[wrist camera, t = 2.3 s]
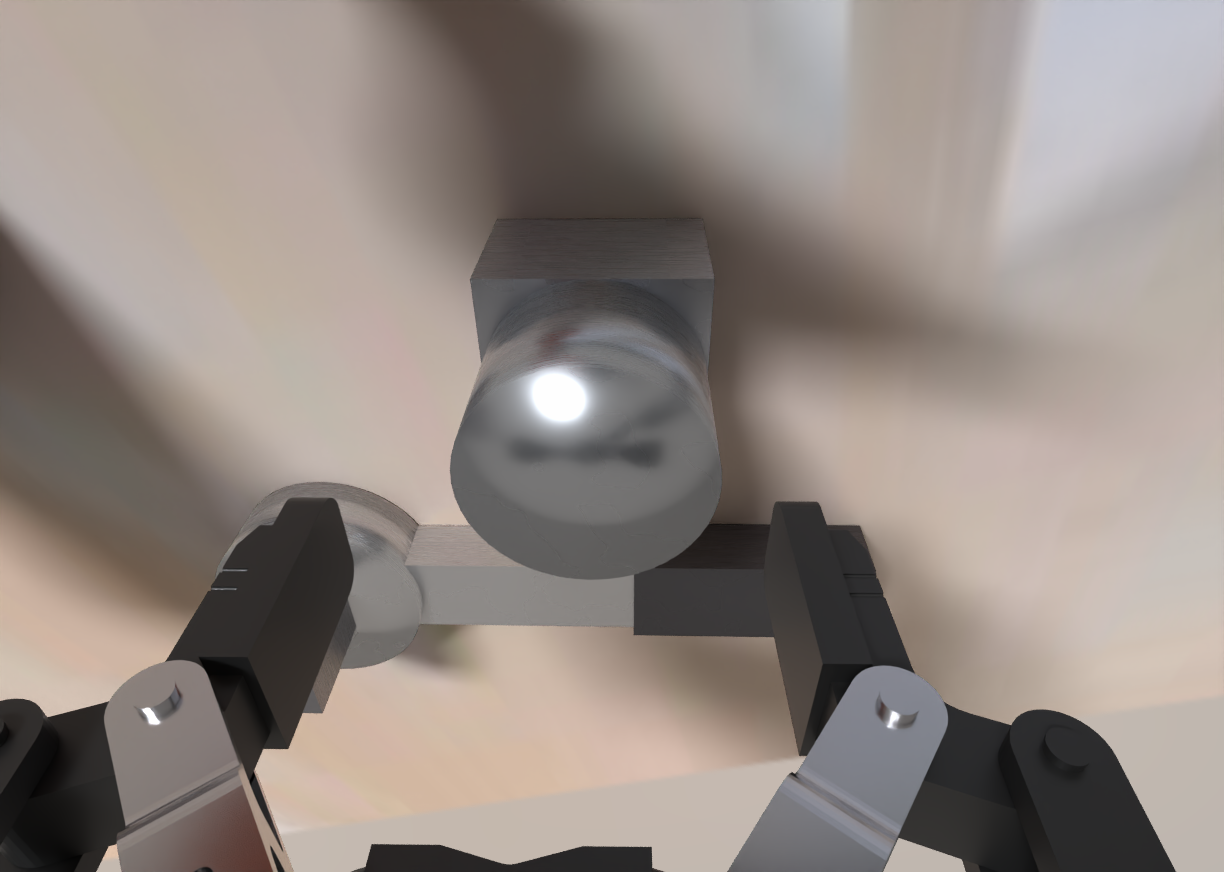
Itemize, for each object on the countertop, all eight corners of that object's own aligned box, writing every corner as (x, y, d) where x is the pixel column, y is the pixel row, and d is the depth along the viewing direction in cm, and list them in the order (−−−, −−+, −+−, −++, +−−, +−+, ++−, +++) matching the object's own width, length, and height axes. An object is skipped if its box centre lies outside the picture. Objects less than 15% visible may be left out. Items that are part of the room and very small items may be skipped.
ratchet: (868, 486, 25) (924, 624, 20) (836, 623, 29) (875, 766, 25) (221, 481, 26) (124, 613, 21) (275, 616, 30) (205, 753, 25)
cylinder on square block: (702, 218, 20) (732, 367, 14) (692, 393, 23) (713, 581, 17) (497, 219, 20) (430, 366, 14) (515, 393, 24) (468, 578, 17)
